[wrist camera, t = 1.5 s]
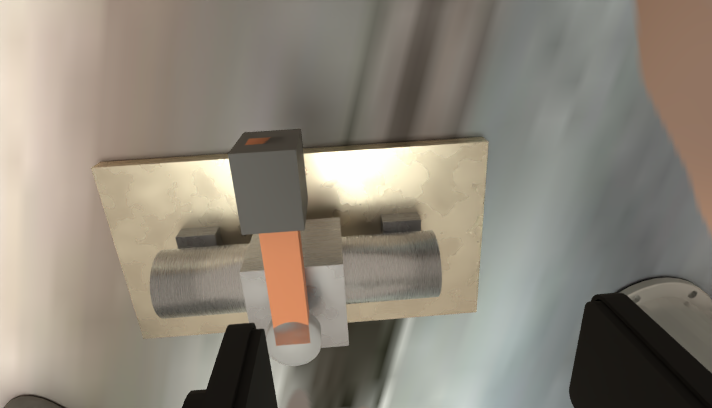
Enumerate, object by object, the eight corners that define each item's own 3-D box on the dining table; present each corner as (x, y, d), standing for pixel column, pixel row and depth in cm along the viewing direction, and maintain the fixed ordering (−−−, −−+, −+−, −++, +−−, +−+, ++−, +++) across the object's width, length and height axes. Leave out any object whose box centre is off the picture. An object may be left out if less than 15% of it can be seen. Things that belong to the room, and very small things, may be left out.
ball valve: (482, 136, 35) (551, 189, 24) (471, 302, 41) (522, 402, 30) (100, 161, 34) (-6, 228, 23) (149, 327, 40) (84, 441, 29)
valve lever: (323, 334, 28) (322, 381, 25) (274, 338, 28) (266, 386, 24) (302, 128, 23) (298, 149, 19) (241, 132, 23) (225, 154, 19)
